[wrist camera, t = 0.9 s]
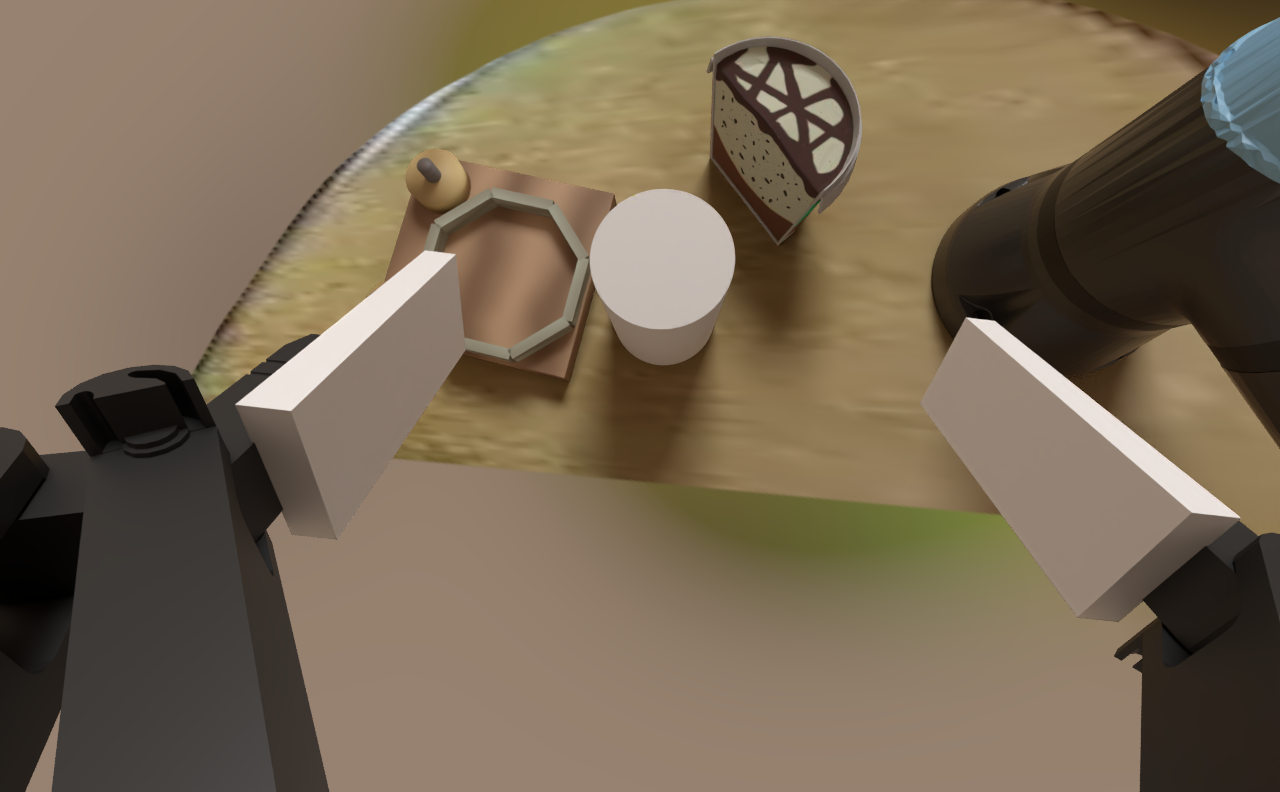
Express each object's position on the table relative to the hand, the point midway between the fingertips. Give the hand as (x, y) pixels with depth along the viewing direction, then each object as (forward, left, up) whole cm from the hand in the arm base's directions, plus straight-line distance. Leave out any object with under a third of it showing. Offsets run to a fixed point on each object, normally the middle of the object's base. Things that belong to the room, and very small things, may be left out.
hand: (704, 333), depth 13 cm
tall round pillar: (+3, -7, -26) cm, 27 cm away
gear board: (+17, -7, -26) cm, 32 cm away
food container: (-3, -20, -26) cm, 33 cm away
